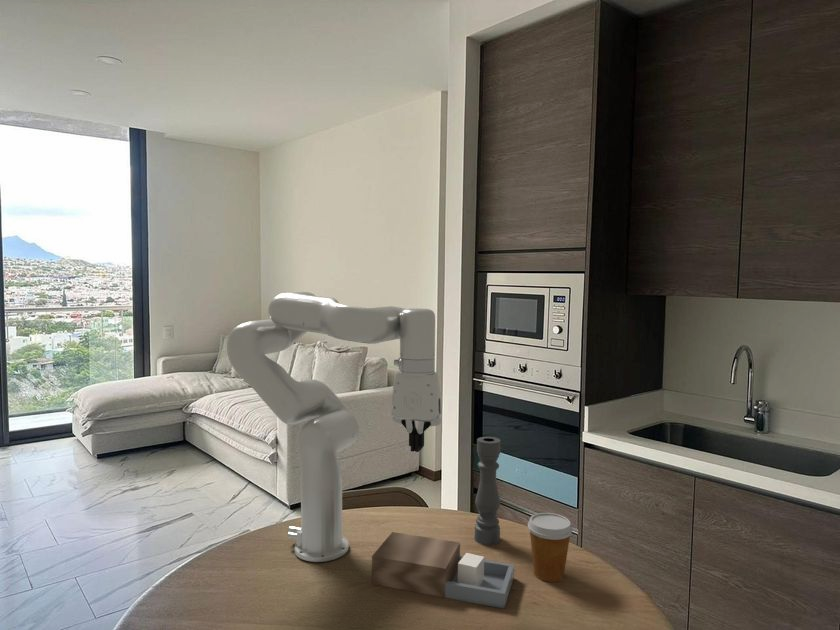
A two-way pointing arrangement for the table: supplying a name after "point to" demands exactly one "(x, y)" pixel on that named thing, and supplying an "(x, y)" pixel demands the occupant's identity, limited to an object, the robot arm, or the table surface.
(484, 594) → the box
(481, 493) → the candle holder
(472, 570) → the white block
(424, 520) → the table surface
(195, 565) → the table surface
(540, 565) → the disposable coffee cup
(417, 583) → the brown wooden box
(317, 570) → the table surface
